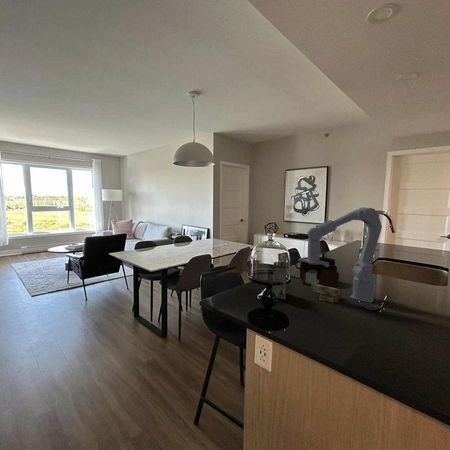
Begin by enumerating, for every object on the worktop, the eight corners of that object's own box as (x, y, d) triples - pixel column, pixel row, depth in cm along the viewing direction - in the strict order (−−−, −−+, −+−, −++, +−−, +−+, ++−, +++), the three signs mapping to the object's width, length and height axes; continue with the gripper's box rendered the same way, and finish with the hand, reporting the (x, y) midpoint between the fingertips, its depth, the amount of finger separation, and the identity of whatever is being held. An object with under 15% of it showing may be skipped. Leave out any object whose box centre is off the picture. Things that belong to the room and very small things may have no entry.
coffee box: (272, 291, 131) (273, 261, 130) (285, 292, 130) (286, 262, 129) (272, 298, 123) (273, 266, 121) (286, 299, 121) (287, 266, 120)
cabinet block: (319, 282, 127) (319, 270, 127) (315, 284, 124) (315, 272, 123) (309, 280, 131) (309, 268, 130) (305, 282, 127) (305, 270, 126)
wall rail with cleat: (341, 297, 124) (341, 289, 123) (335, 303, 116) (335, 295, 116) (312, 290, 133) (312, 283, 133) (305, 296, 126) (305, 288, 125)
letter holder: (299, 278, 154) (300, 256, 152) (333, 280, 151) (335, 257, 149) (302, 284, 144) (303, 260, 142) (338, 286, 141) (340, 261, 140)
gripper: (296, 251, 127) (295, 277, 129) (326, 255, 118) (324, 283, 119) (302, 249, 133) (301, 274, 134) (330, 252, 124) (329, 279, 125)
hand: (312, 278), depth 127 cm, fingers closed on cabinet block, 5 cm apart
